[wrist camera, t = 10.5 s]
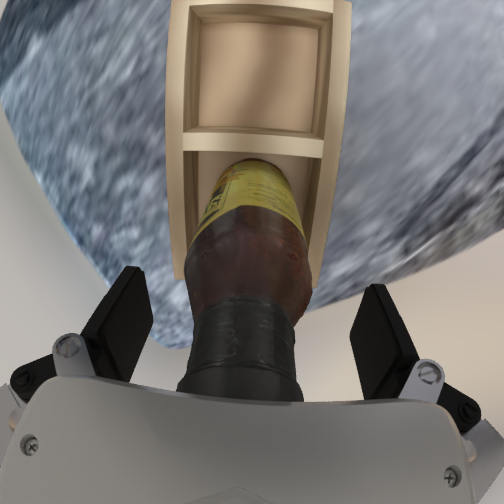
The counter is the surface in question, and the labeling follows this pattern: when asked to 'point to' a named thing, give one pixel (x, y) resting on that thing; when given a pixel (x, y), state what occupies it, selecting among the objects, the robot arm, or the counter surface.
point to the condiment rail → (255, 105)
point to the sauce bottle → (247, 287)
